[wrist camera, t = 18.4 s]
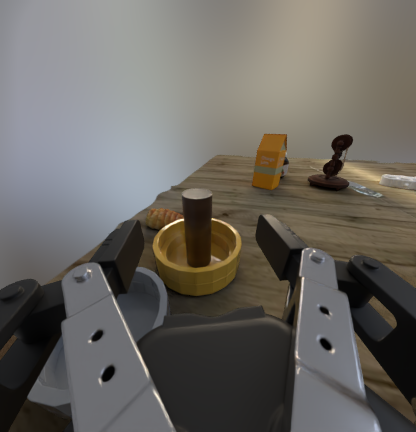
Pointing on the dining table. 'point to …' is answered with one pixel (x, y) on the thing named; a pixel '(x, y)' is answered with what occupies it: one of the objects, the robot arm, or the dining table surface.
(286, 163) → the spread jar
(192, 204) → the brown cylinder
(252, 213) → the dining table surface
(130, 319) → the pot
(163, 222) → the pastry
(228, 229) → the bowl
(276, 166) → the orange juice
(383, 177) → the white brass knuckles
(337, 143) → the brown wooden sculpture
